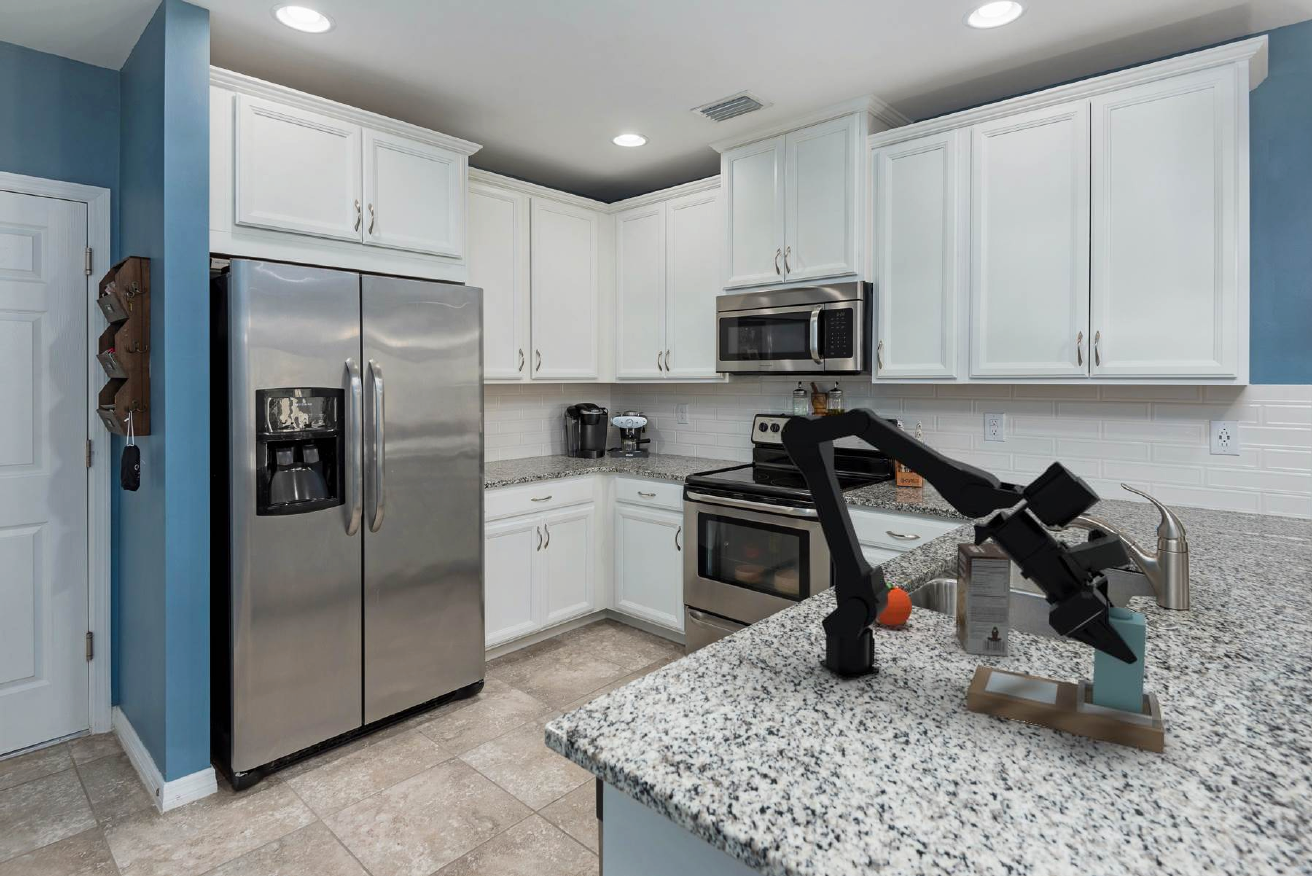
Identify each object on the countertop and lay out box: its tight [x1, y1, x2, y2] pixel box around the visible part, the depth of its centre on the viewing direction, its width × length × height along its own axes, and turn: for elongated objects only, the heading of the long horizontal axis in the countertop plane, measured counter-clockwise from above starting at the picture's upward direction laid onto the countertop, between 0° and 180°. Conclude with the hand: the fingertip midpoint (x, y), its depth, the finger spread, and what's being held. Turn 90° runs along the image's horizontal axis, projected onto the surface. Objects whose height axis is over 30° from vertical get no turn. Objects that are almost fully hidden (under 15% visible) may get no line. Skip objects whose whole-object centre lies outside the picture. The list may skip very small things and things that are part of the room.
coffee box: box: [955, 542, 1012, 657], centre depth 114 cm, size 9×6×16 cm
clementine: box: [876, 584, 913, 627], centre depth 125 cm, size 8×7×7 cm
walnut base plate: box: [966, 665, 1165, 754], centre depth 90 cm, size 21×10×4 cm, turn 58°
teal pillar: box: [1092, 606, 1147, 714], centre depth 87 cm, size 5×5×12 cm
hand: (1132, 649), depth 86 cm, fingers open, 9 cm apart
